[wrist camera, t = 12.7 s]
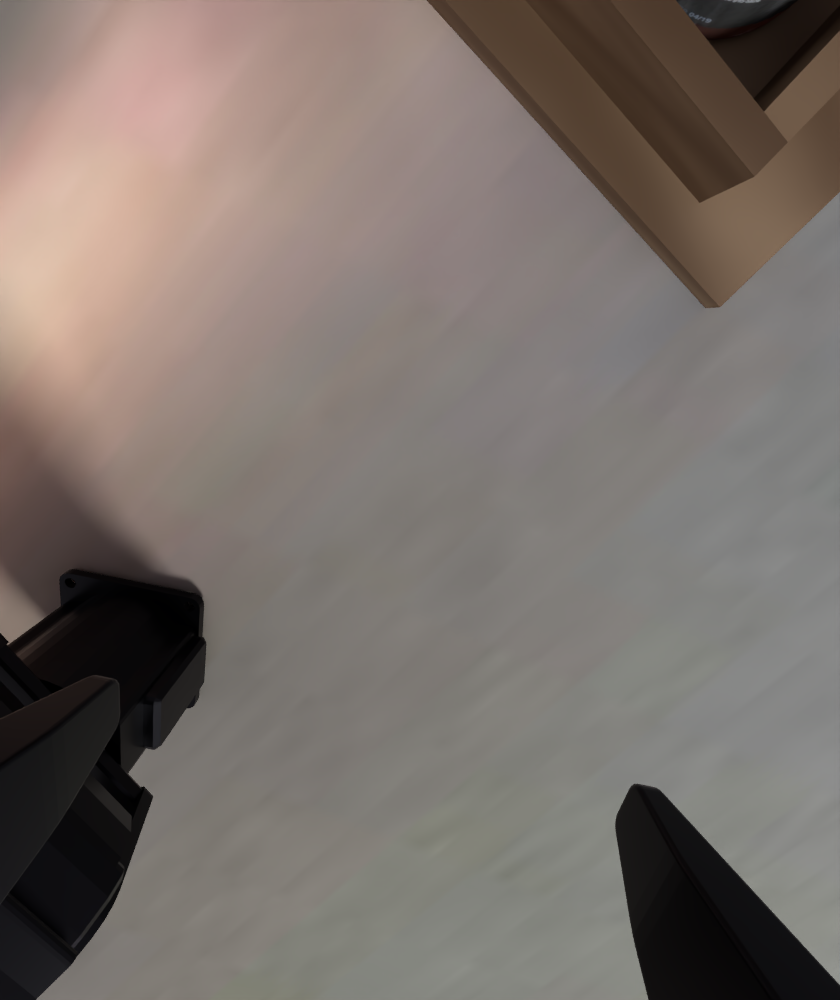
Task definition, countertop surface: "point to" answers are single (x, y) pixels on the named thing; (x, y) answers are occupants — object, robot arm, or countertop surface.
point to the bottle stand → (679, 119)
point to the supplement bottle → (732, 15)
